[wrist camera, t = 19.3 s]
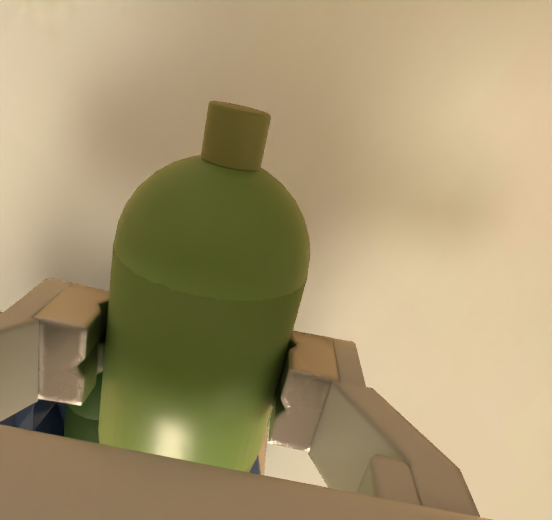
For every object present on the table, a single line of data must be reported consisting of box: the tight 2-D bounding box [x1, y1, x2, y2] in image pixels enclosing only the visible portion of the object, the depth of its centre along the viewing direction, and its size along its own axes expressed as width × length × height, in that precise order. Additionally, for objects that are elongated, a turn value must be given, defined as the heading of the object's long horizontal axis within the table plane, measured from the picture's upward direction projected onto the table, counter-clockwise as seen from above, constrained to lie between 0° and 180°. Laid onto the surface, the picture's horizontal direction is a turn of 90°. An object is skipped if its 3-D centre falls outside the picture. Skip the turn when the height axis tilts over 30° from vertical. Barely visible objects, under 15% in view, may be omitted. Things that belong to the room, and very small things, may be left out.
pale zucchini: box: [98, 101, 310, 472], centre depth 9 cm, size 9×4×4 cm, turn 168°
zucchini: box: [64, 372, 103, 443], centre depth 26 cm, size 10×4×4 cm, turn 168°
